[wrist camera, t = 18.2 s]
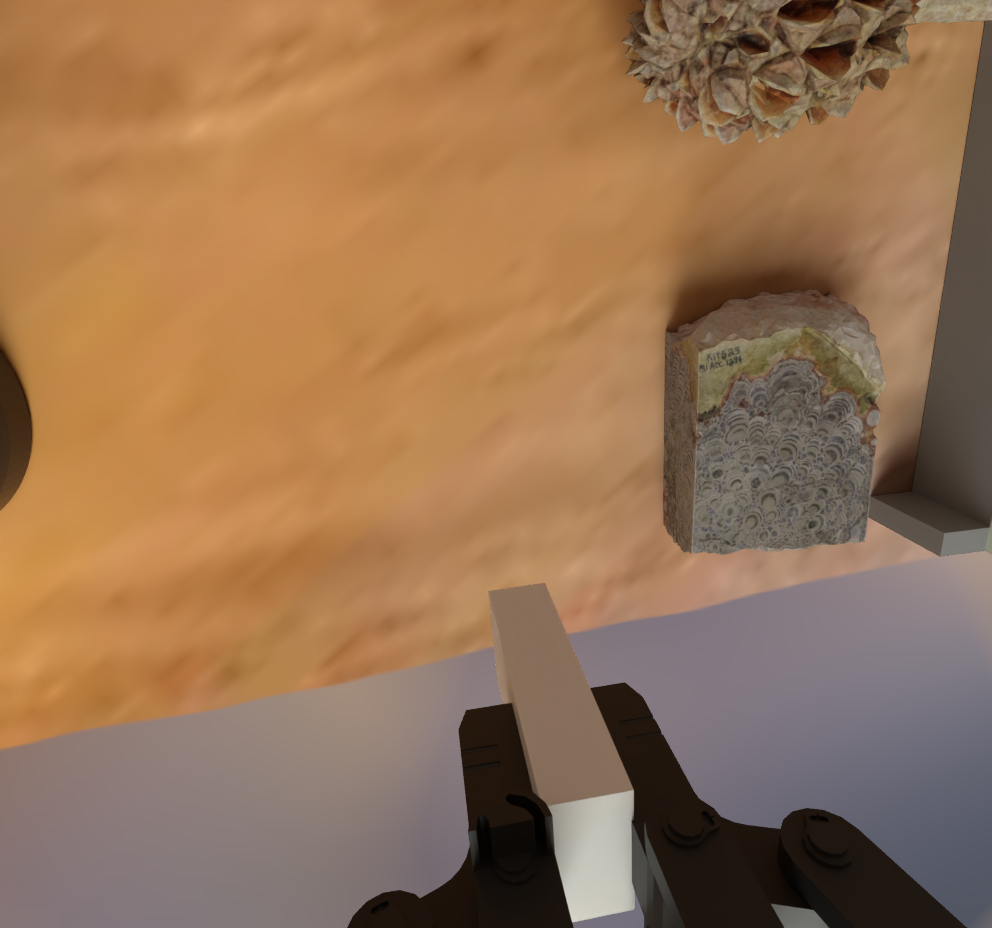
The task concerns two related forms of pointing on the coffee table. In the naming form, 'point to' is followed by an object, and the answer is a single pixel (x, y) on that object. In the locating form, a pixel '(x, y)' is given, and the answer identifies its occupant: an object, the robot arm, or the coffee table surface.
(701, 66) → the pine cone
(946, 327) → the end rail
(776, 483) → the geological specimen
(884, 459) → the coffee table surface
